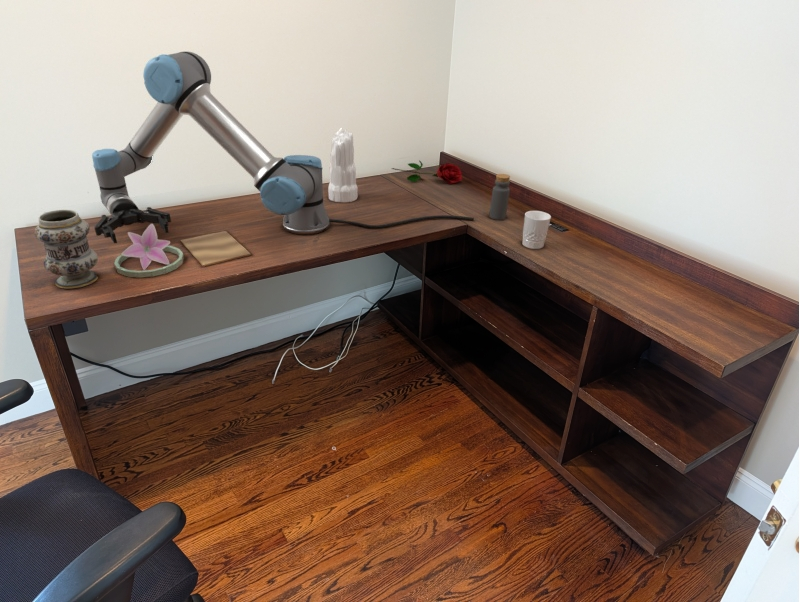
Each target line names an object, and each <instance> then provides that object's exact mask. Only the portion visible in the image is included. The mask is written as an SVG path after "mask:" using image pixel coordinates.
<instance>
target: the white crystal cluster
mask: <svg viewBox="0 0 800 602" xmlns="http://www.w3.org/2000/svg"><path fill="white" fill-rule="evenodd" d="M331 139H332V140H331V150H330V165H329V183H328V187H327V188H328V189H327V191H328V200H330V201H331V202H335V203H342V204H343V203H352V202H354V201H356V200H357V199H358V195H359V193H358V192H359V191H358V189H359V187H358V184H357V169H356V165H355V149H354V146H355V145H354V136H353V133H352V132H349V131H348V130H347V129H343V127H340V128H339V129H338V130H337V131H336V132H335V133H334V134H333V137H332V138H331Z"/></svg>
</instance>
